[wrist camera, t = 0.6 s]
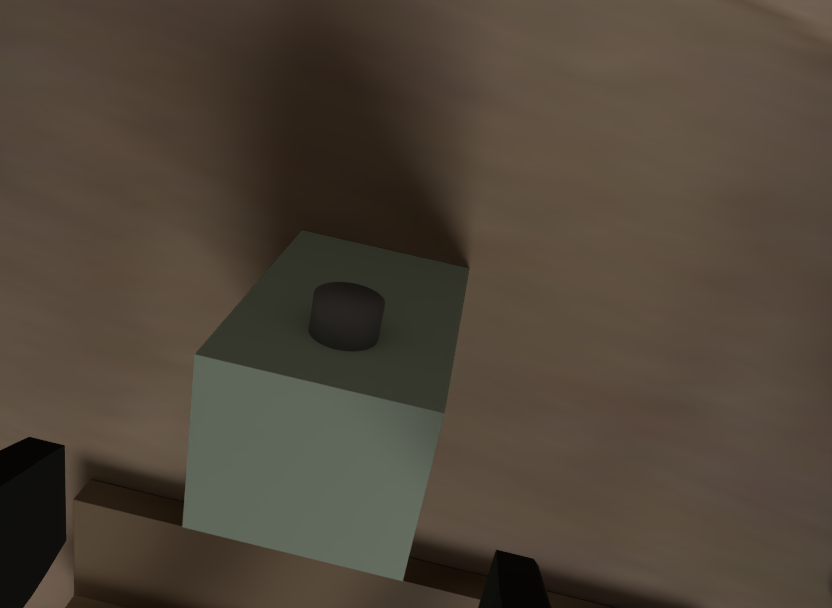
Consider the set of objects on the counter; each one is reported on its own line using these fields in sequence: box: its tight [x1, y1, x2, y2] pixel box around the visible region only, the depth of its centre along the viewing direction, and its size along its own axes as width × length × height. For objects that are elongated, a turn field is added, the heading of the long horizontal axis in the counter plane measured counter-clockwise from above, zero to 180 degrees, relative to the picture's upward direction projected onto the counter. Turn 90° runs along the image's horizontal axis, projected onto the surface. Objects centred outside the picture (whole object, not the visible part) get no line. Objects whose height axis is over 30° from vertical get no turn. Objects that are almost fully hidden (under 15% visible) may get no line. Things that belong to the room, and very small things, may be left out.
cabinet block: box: [182, 230, 469, 581], centre depth 17 cm, size 4×5×7 cm
